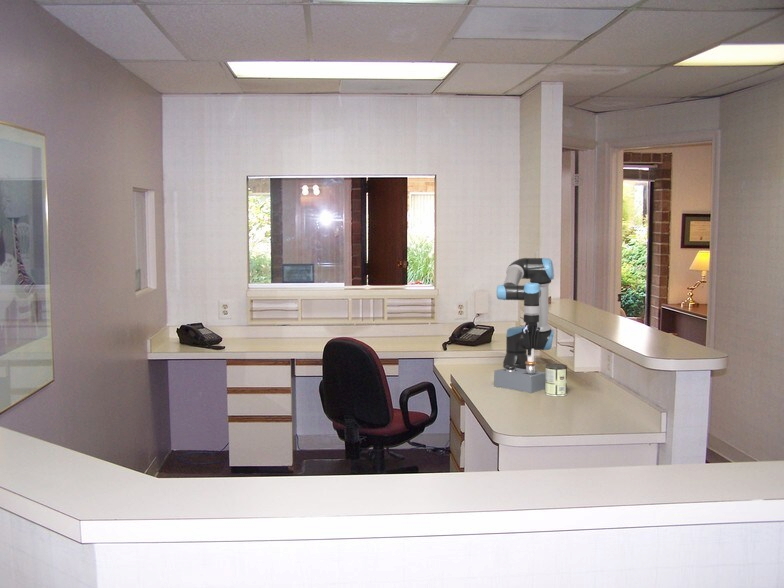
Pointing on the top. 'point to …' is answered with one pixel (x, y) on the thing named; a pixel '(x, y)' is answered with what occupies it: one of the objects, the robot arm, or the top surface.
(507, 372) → the block
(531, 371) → the plunger orange
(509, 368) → the dark-lidded glass jar
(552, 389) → the coffee can
